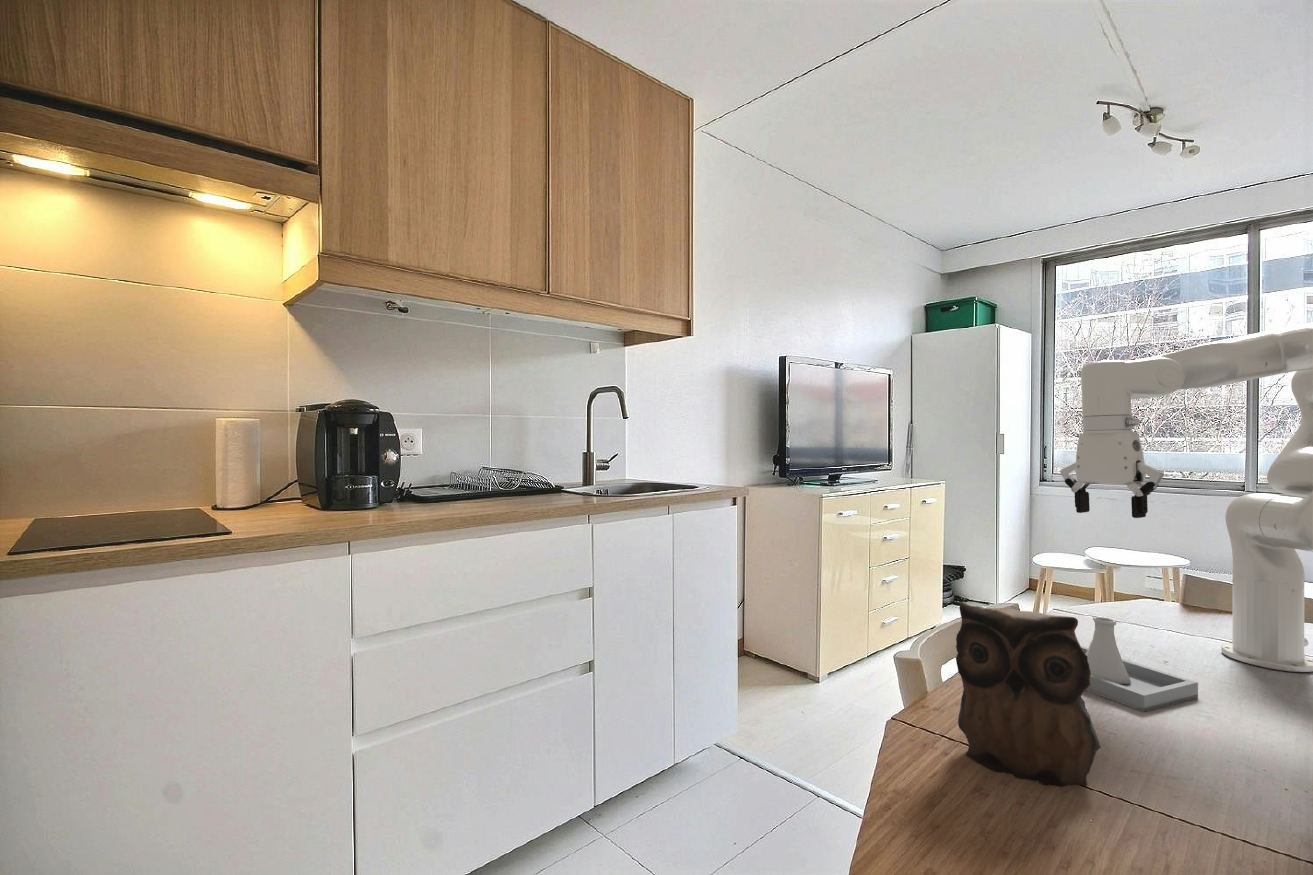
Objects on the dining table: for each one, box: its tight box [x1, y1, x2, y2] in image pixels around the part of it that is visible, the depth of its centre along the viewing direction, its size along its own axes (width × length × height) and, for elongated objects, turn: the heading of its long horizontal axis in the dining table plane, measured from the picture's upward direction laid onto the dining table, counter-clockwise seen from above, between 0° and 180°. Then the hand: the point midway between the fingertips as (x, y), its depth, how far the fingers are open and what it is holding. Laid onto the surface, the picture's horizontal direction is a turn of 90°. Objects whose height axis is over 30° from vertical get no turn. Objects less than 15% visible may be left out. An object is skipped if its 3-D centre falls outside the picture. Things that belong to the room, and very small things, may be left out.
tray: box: [1080, 645, 1199, 713], centre depth 102 cm, size 14×20×2 cm
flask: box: [1086, 616, 1131, 684], centre depth 102 cm, size 7×7×10 cm
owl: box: [955, 601, 1101, 787], centre depth 75 cm, size 13×13×20 cm
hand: (1109, 514), depth 113 cm, fingers open, 9 cm apart
